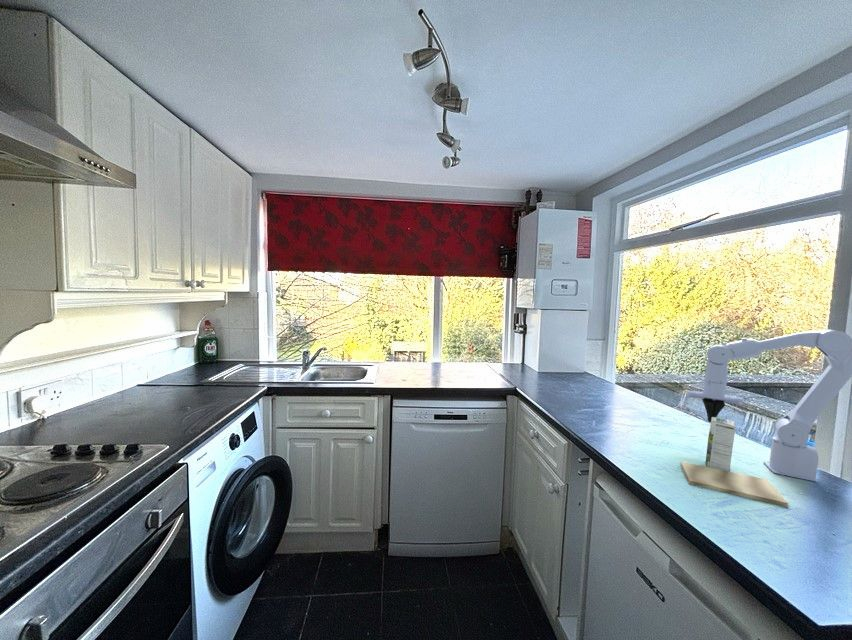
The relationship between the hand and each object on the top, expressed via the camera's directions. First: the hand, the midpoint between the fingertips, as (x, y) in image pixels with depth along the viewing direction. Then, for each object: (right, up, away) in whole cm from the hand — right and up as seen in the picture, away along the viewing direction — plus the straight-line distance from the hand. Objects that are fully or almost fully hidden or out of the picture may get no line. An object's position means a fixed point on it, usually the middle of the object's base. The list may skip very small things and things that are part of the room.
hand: (710, 421), depth 118 cm
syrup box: (-6, -11, -10) cm, 16 cm away
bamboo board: (-11, -12, -20) cm, 25 cm away
